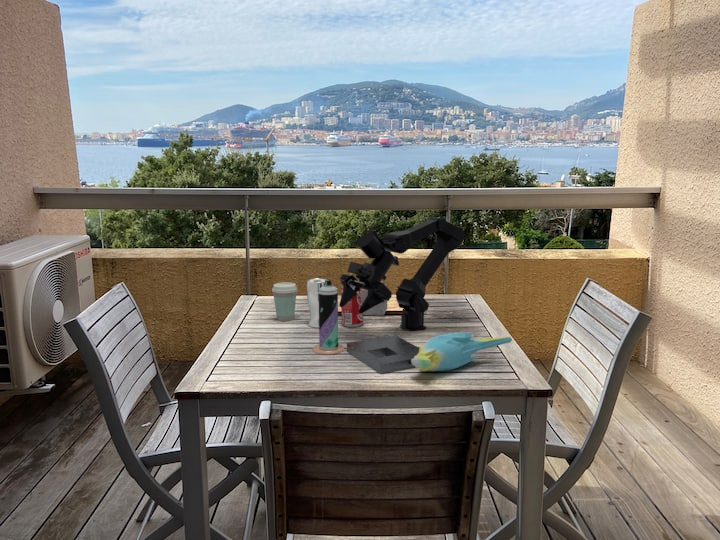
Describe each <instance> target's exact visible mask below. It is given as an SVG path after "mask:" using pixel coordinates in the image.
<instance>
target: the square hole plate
mask: <svg viewBox="0 0 720 540" xmlns="http://www.w3.org/2000/svg"><path fill="white" fill-rule="evenodd" d="M419 348H420V347H419V346H417V345H414V344H413V343H411V342H409V341H407V340H406V339H403V338H401V337H400V336H398V335H396V334H395V335H389V336H388V335H387V336H381V337H376V338H368V339H362V340H356V341H351V342H346V352H348V353H349V354H351V355H352V356H353V357H355V358H356V359H358V361H359V360H360V362H362V363H364V364H365V365H366V366H368V367H370V368H371V369H372V370H374V371H375V372H376V373H379V374H380V375H382V374H387V373H393V372H397V371H402V370H407V369H408V370H409V369H412V368H413V369H414V368H416V367H415V366H414V365H412V364H409V362H408V361H409V360H410V359H413V358H414V356H416V355H417V354H418V353H419Z"/></svg>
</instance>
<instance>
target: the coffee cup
mask: <svg viewBox="0 0 720 540" xmlns="http://www.w3.org/2000/svg"><path fill="white" fill-rule="evenodd" d="M272 286H273V287H272V289H271V291H272V294H273V302H274V307H275V314H276V320H277V321H279V322H289V321H293V320H294V319H295V313H296V301H297V291H298V287H297V284H296V283H295V282H290V281H289V282H288V281H287V282H286V281H285V282H284V281H283V282H282V281H281V282H277V283H274V284H273V285H272Z"/></svg>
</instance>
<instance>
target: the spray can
mask: <svg viewBox="0 0 720 540" xmlns="http://www.w3.org/2000/svg"><path fill="white" fill-rule="evenodd" d="M338 292H339V291H338V288H337V287H336V286H334V284H333V283H332V280H328V279H326V280H325V284H324V285H323V286H322V287H321V288H319V328H318V329H319V330H318V334H319V335H318V336H319V338H318V339H319V343H318V345H319V347H320V349H321V350H324V351H333V350H336V349H338V344H339V293H338Z"/></svg>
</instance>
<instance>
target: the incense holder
mask: <svg viewBox="0 0 720 540" xmlns="http://www.w3.org/2000/svg"><path fill="white" fill-rule="evenodd" d="M384 284H385V285H386V286H387V284H386V283H384ZM362 291H363V302H364V300H365V299H366V297H367V295H368V290H365V289H362ZM384 301H385V300H384ZM387 310H388V301H385V302H384V303H383V302H382V303H380V304H378V305H376V306H374V307H372V308H370V309H369V310H367V311H365V312H363V316H375V317H376V316H378V317H383V316H385V314H386V312H387Z"/></svg>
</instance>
